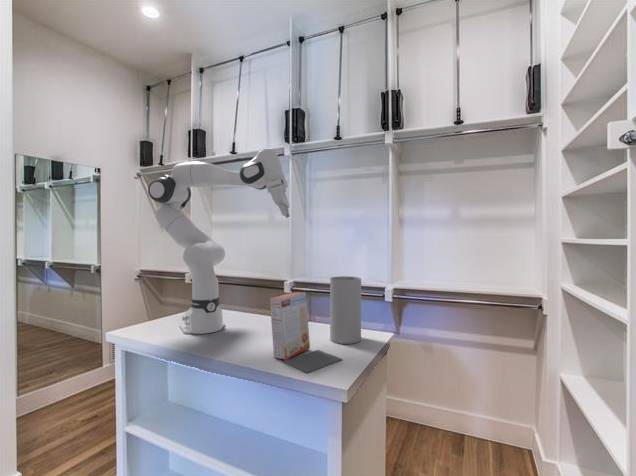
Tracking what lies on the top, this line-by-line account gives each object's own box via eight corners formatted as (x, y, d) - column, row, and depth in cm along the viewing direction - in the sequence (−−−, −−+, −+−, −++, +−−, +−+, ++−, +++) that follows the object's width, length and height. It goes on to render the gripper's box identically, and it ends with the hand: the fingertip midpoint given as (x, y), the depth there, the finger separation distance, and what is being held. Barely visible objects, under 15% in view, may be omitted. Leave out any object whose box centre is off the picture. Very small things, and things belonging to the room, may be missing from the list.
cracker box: (297, 346, 123) (294, 291, 124) (310, 348, 119) (307, 292, 120) (272, 358, 111) (269, 297, 112) (285, 360, 108) (282, 297, 109)
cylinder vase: (349, 347, 123) (349, 281, 123) (323, 340, 131) (324, 278, 131) (366, 339, 132) (367, 278, 132) (342, 333, 140) (342, 275, 140)
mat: (283, 362, 108) (283, 361, 108) (318, 350, 119) (318, 349, 119) (306, 373, 99) (306, 372, 99) (342, 360, 110) (342, 358, 110)
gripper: (274, 192, 150) (283, 220, 149) (264, 183, 129) (275, 216, 129) (287, 187, 149) (296, 216, 149) (279, 178, 129) (290, 211, 128)
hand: (286, 216), depth 139 cm, fingers open, 8 cm apart
